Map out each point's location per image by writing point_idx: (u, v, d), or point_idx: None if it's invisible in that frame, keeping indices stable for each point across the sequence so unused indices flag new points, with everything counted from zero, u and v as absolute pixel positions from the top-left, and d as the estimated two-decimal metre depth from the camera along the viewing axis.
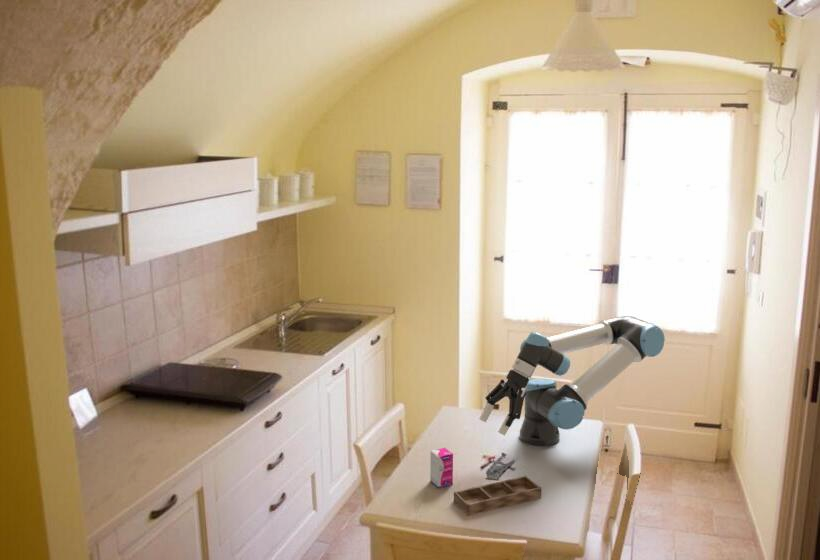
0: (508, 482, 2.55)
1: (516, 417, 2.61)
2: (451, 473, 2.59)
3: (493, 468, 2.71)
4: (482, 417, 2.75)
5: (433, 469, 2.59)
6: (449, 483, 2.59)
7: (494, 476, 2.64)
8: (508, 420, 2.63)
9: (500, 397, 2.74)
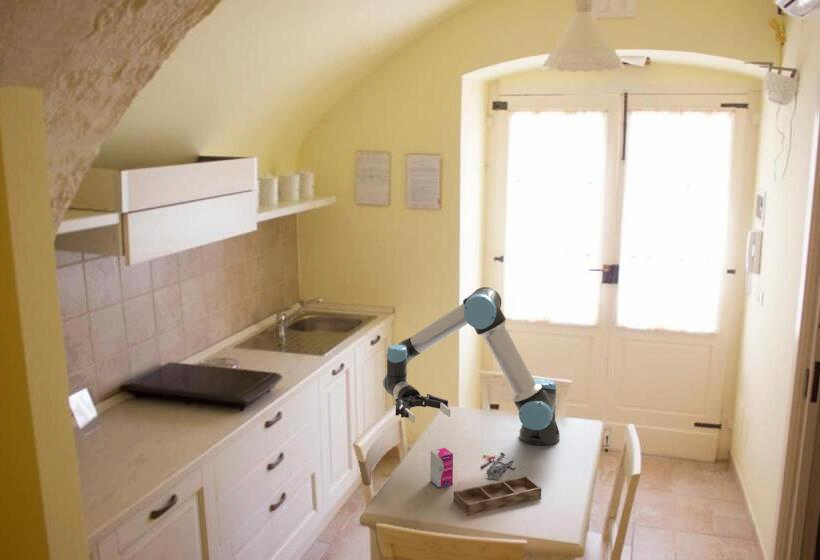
0: (508, 482, 2.55)
1: (396, 412, 2.68)
2: (451, 473, 2.59)
3: (493, 468, 2.71)
4: (447, 414, 2.69)
5: (433, 469, 2.59)
6: (449, 483, 2.59)
7: (495, 476, 2.64)
8: None
9: (429, 402, 2.76)
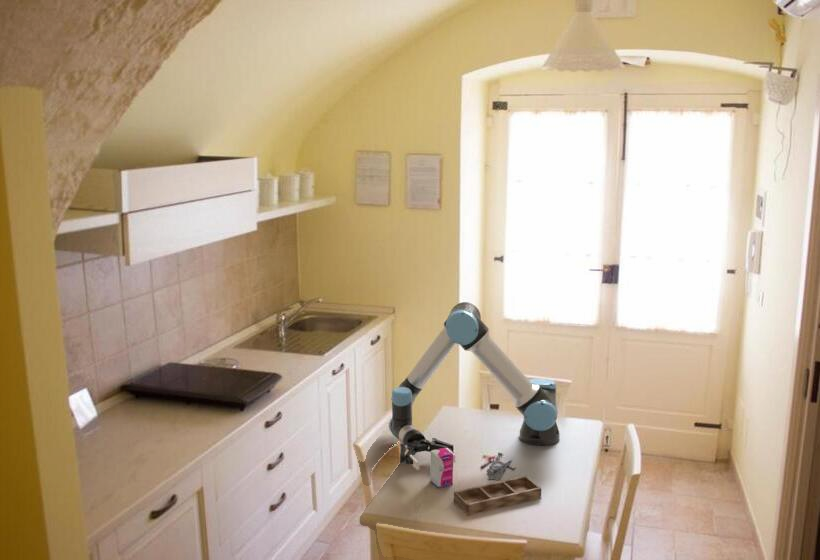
0: (508, 482, 2.55)
1: (400, 459, 2.65)
2: (451, 473, 2.59)
3: (492, 468, 2.71)
4: None
5: (433, 469, 2.59)
6: (449, 483, 2.59)
7: (495, 477, 2.64)
8: None
9: (435, 447, 2.73)
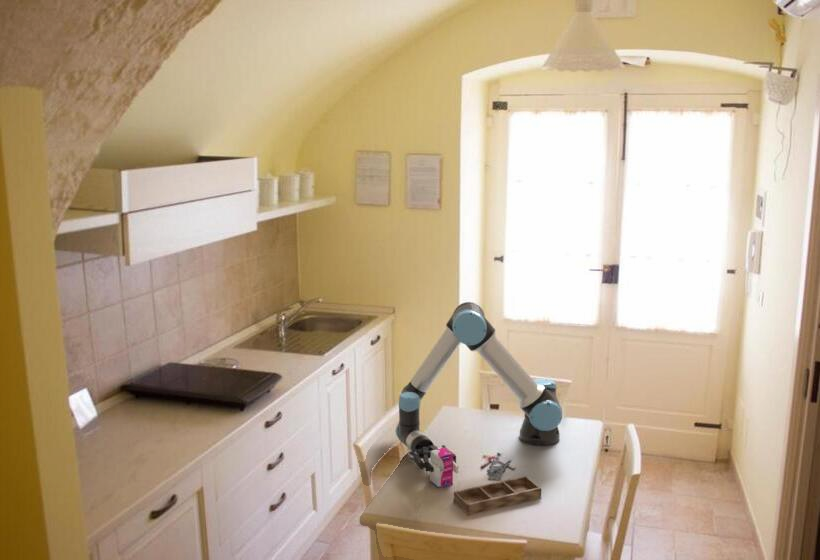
0: (508, 482, 2.55)
1: (420, 466, 2.59)
2: (451, 473, 2.59)
3: (492, 469, 2.71)
4: (455, 471, 2.58)
5: None
6: (449, 483, 2.59)
7: (496, 477, 2.64)
8: None
9: None
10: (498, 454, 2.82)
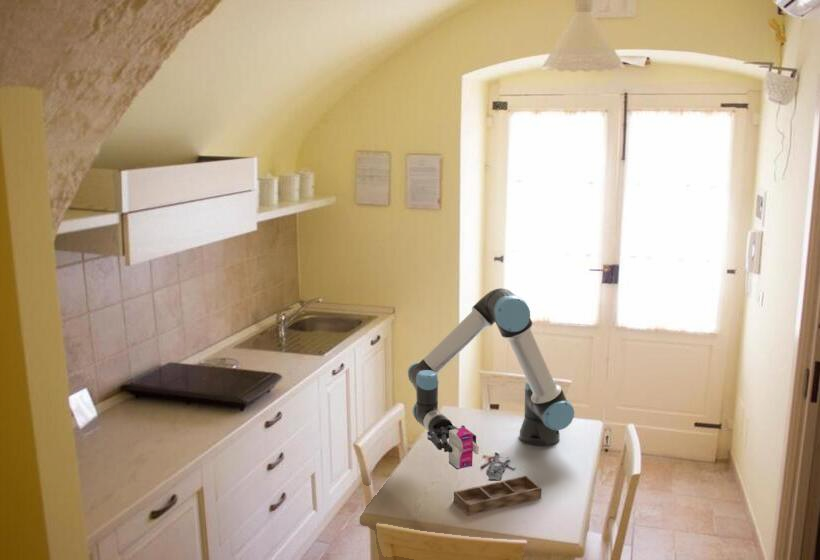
0: (508, 482, 2.55)
1: (438, 446, 2.45)
2: (471, 453, 2.45)
3: (492, 468, 2.70)
4: (475, 451, 2.43)
5: None
6: (468, 465, 2.45)
7: (496, 477, 2.64)
8: None
9: None
10: (496, 454, 2.82)
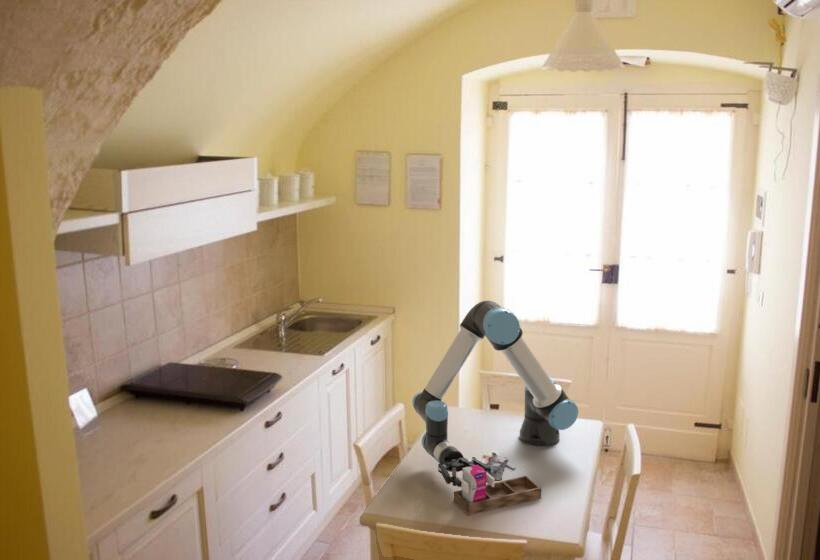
0: (508, 482, 2.55)
1: (447, 480, 2.44)
2: (484, 492, 2.43)
3: (491, 469, 2.70)
4: (490, 484, 2.43)
5: None
6: None
7: (497, 477, 2.64)
8: None
9: None
10: (493, 454, 2.82)
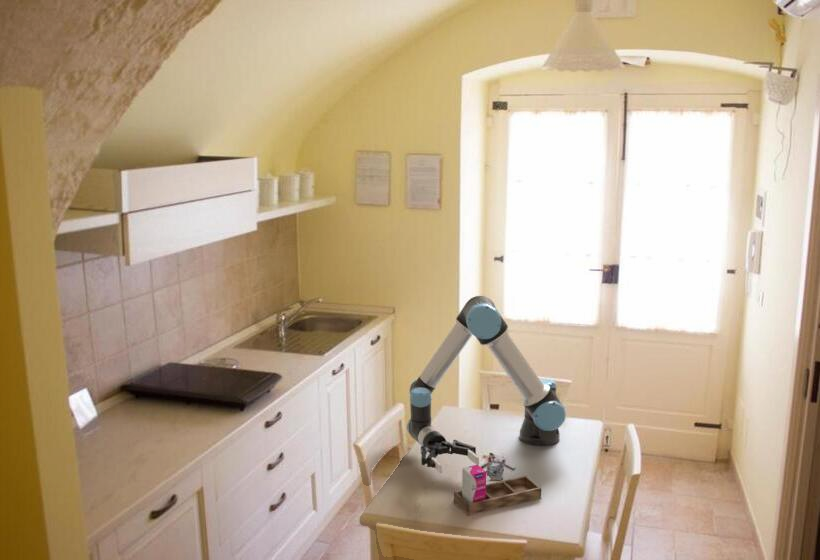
0: (508, 482, 2.55)
1: (422, 462, 2.56)
2: (484, 492, 2.43)
3: (491, 469, 2.70)
4: (475, 462, 2.57)
5: (464, 487, 2.44)
6: None
7: (498, 477, 2.64)
8: None
9: (456, 449, 2.64)
10: (491, 454, 2.82)
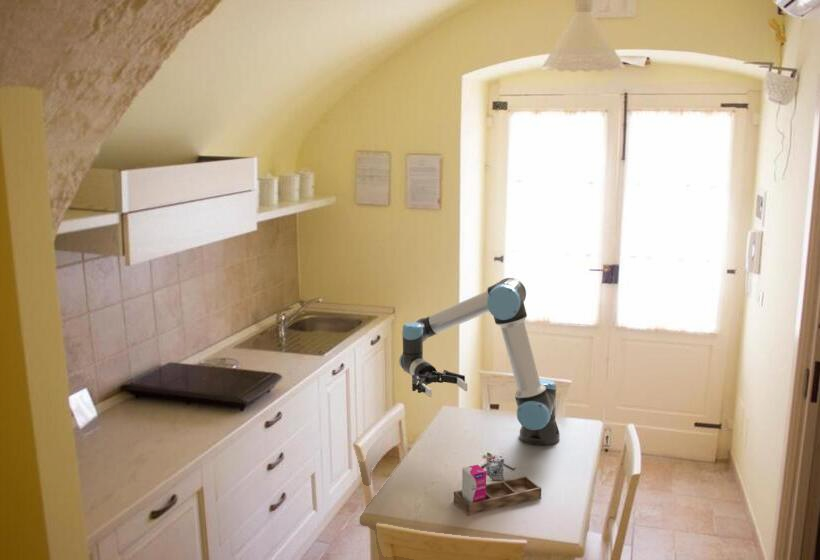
0: (508, 482, 2.55)
1: (412, 387, 2.66)
2: (484, 492, 2.43)
3: (491, 469, 2.70)
4: (464, 388, 2.67)
5: (464, 487, 2.44)
6: None
7: (499, 477, 2.64)
8: None
9: (446, 378, 2.74)
10: (488, 454, 2.82)
